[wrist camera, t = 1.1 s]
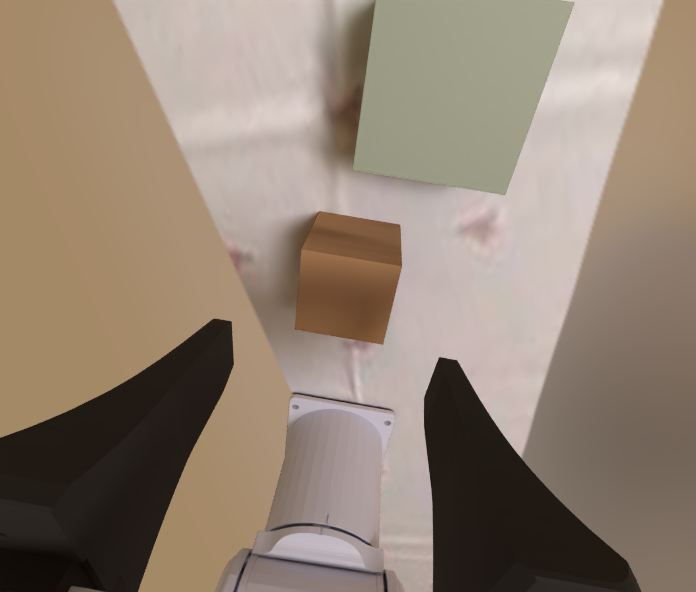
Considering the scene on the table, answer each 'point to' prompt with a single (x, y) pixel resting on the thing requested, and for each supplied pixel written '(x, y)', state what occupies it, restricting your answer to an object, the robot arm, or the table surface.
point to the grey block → (455, 88)
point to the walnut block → (348, 277)
